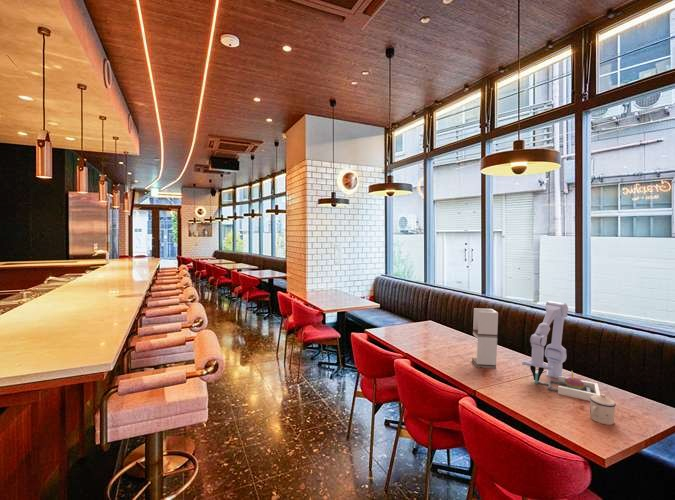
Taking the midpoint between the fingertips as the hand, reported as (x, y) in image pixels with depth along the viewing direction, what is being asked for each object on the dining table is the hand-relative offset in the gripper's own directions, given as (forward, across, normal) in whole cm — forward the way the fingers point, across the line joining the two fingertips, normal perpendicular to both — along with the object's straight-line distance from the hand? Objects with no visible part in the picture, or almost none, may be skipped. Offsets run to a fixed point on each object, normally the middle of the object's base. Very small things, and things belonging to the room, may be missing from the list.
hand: (536, 379), depth 190 cm
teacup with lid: (+2, +26, -28) cm, 38 cm away
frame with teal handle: (+2, +12, 0) cm, 12 cm away
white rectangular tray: (+2, +18, 0) cm, 18 cm away
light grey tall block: (+2, -30, +12) cm, 32 cm away
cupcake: (+2, +17, 0) cm, 17 cm away
